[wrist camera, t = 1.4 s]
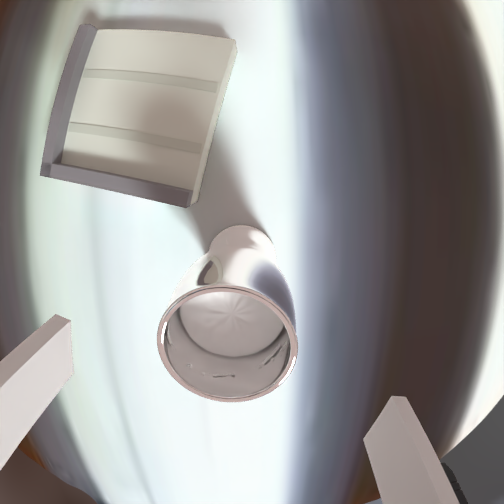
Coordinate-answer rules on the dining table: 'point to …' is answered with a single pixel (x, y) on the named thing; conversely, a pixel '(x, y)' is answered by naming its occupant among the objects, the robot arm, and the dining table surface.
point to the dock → (138, 111)
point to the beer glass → (231, 321)
